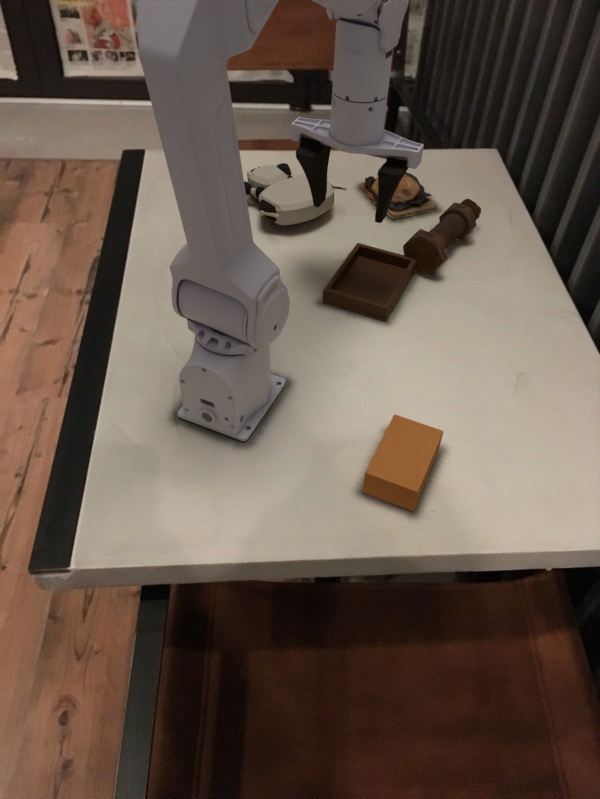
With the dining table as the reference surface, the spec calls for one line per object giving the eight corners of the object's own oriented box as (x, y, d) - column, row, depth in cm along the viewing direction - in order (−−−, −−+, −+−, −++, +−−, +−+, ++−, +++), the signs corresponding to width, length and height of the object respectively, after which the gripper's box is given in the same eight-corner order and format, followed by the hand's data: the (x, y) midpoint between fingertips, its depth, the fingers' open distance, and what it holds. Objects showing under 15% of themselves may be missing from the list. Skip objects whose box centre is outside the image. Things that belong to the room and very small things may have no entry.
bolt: (470, 234, 97) (421, 282, 88) (446, 208, 97) (394, 254, 88) (498, 208, 92) (450, 256, 83) (472, 181, 92) (421, 226, 83)
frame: (385, 321, 81) (387, 308, 80) (322, 302, 83) (323, 289, 82) (415, 271, 88) (417, 258, 87) (356, 255, 90) (357, 242, 89)
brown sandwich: (440, 211, 99) (445, 187, 96) (389, 222, 96) (392, 198, 94) (404, 176, 105) (408, 154, 103) (355, 186, 103) (357, 163, 100)
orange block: (413, 511, 62) (417, 492, 60) (362, 492, 64) (364, 472, 62) (438, 450, 67) (443, 430, 65) (390, 433, 69) (394, 413, 67)
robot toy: (218, 204, 100) (280, 244, 91) (215, 174, 97) (279, 212, 88) (285, 179, 105) (349, 214, 97) (284, 150, 102) (350, 184, 94)
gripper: (439, 91, 70) (419, 209, 80) (310, 65, 74) (306, 181, 84) (418, 117, 66) (400, 239, 76) (283, 88, 70) (282, 208, 80)
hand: (349, 210), depth 80 cm, fingers open, 7 cm apart
